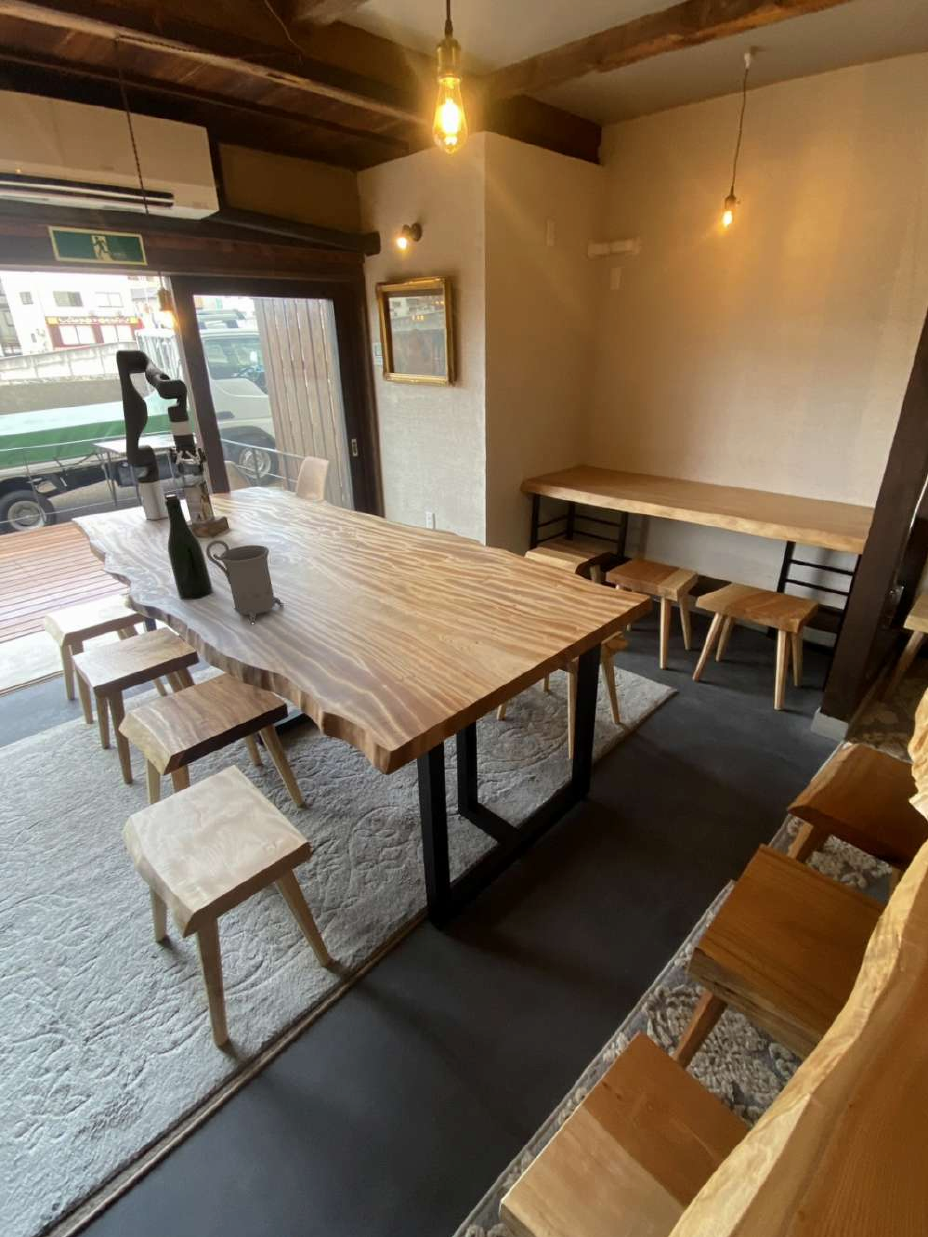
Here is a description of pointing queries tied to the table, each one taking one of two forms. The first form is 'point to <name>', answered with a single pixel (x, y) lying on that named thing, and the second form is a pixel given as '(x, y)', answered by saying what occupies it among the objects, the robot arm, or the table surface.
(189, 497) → the coffee box
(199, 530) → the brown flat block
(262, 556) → the mug
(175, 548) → the beer bottle
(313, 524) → the table surface
